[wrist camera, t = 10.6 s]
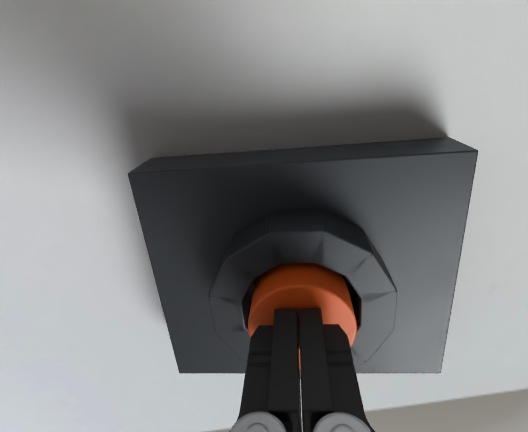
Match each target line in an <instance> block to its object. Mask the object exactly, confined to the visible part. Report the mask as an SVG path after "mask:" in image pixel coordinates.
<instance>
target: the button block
mask: <svg viewBox="0 0 528 432" xmlns="http://www.w3.org/2000/svg"><path fill="white" fill-rule="evenodd" d="M477 155H478V150H476V149H474V148H472V147H470V146H467V145H465V144H463V143H461V142H458V141H456V140H454V139H452V138H449V137H448V138H433V139H419V140H405V141H391V142H376V143H362V144H348V145H333V146H319V147H305V148H291V149H276V150H262V151H248V152H233V153H219V154H205V155H191V156H176V157H162V158H151V159H149V160H148V161H146V162H144V163H143V164H141V165H140V166H138V167H137V168H135V169H134V170H132V171H131V172H129V173H128V177H129V181H130V184H131V188H132V192H133V196H134V200H135V204H136V207H137V211H138V215H139V219H140V223H141V227H142V231H143V234H144V238H145V242H146V246H147V250H148V254H149V258H150V261H151V265H152V269H153V273H154V277H155V281H156V285H157V288H158V292H159V296H160V300H161V304H162V308H163V312H164V315H165V319H166V323H167V327H168V331H169V335H170V339H171V342H172V346H173V350H174V354H175V358H176V362H177V366H178V369H179V373H246V366H247V359H248V354H249V345H250V335H249V331H248V319H249V313H250V307H251V301H252V296H253V290H254V286H255V284H256V282H257V280H258V278H259V277H260V275H261V274H263V273H265V272H267V271H269V270H271V269H272V268H274V267H276V266H278V265H280V264H295V263H317V264H319V265H321V266H324V267H326V268H328V269H330V270H333V271H335V272H337V273H339V274H340V275H341V276H342V277H343V279H344V280H345V282H346V284H347V287H348V290H349V294H350V298H351V302H352V306H353V310H354V314H355V318H356V322H357V332H356V336H355V340H354V342H353V344H352V346H351V347H350V348H351V353H352V358H353V363H354V367H355V372H356V373H441V367H442V361H443V356H444V350H445V344H446V338H447V332H448V326H449V320H450V314H451V308H452V303H453V297H454V291H455V285H456V279H457V273H458V267H459V261H460V255H461V250H462V244H463V238H464V232H465V226H466V220H467V214H468V208H469V203H470V197H471V191H472V185H473V179H474V173H475V167H476V161H477ZM300 379H301V369H300Z"/></svg>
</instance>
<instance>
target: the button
mask: <svg viewBox="0 0 528 432" xmlns="http://www.w3.org/2000/svg"><path fill="white" fill-rule="evenodd" d="M283 308H297V324H298V342H299V363H300V338H299V308H321V313H322V321H323V324H339V325H340V326H341V328H342V329H343V330H344V332H345V333H346V334H347V336H348V339H349V344H350V347H351V346H352V344H353V342H354V340H355V336H356V332H357V322H356V318H355V314H354V310H353V306H352V302H351V298H350V294H349V290H348V287H347V284H346V282H345V280H344V279H343V277H342V276H341V275H340V274H339V273H337V272H335V271H333V270H330V269H328V268H326V267H324V266H321V265H319V264H317V263H295V264H280V265H278V266H276V267H274V268H272V269H271V270H269V271H267V272H265V273H263V274H261V275H260V277H259V278H258V280H257V282H256V284H255V286H254V290H253V296H252V301H251V307H250V313H249V319H248V331H249V335H250V338H251V336H252V335H253V333H254V332H255V330H256V329H257V327H258V326H259V325H273V322H274V309H283ZM300 369H301V367H300Z"/></svg>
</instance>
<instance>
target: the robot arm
mask: <svg viewBox="0 0 528 432" xmlns="http://www.w3.org/2000/svg"><path fill="white" fill-rule="evenodd" d="M299 338H300V363H299V342H298V324H297V308H283V309H274V322H273V325H259V326H258V327H257V329H256V330H255V332H254V333H253V335H252V336H251V338H250V345H249V354H248V359H247V366H246V373H245V380H244V386H243V393H242V400H241V407H240V413H239V417H238V419H237V421H236V423H235V424H234V425H233V427H232V428H231V430H230V431H229V432H302V430H301V429H302V427H301V396H302V420H303V432H375V431H374V430H373V429H372V428H371V426H370V424H369V423H368V421H367V419H366V417H365V413H364V409H363V404H362V400H361V395H360V390H359V386H358V381H357V376H356V372H355V367H354V363H353V358H352V353H351V348H350V344H349V339H348V336H347V334H346V333H345V332H344V330H343V329H342V328H341V326H340V325H339V324H323V321H322V313H321V308H299ZM300 367H301V395H300Z"/></svg>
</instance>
